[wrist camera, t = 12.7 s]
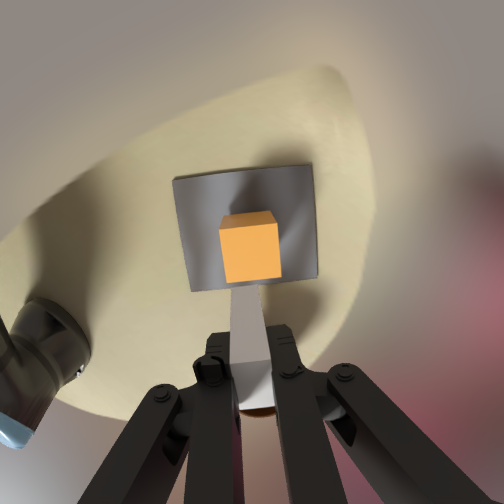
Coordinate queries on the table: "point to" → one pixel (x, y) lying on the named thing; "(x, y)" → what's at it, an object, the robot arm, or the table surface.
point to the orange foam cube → (250, 246)
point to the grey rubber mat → (246, 201)
